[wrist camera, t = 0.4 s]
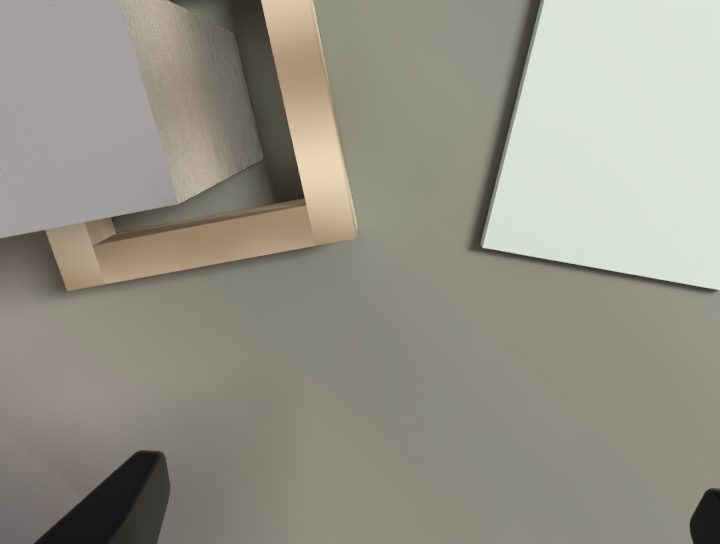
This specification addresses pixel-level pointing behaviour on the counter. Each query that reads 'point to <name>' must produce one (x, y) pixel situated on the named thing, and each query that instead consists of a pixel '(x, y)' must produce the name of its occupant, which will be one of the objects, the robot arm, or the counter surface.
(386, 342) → the counter surface
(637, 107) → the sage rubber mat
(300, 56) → the oak socket frame
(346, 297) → the counter surface
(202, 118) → the steel cap block
